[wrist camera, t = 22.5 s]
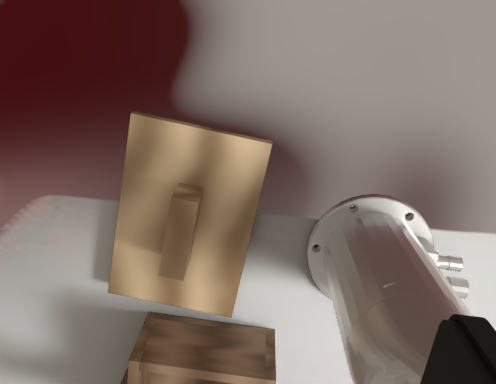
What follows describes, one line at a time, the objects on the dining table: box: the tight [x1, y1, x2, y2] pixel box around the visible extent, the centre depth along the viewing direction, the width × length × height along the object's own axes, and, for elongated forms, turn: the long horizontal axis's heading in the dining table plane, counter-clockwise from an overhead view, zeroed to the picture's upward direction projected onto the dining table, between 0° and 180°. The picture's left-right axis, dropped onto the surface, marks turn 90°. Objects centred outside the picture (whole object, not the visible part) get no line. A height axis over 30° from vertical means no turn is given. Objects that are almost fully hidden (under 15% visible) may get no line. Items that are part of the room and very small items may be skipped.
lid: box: [108, 111, 272, 318], centre depth 45 cm, size 13×19×6 cm
